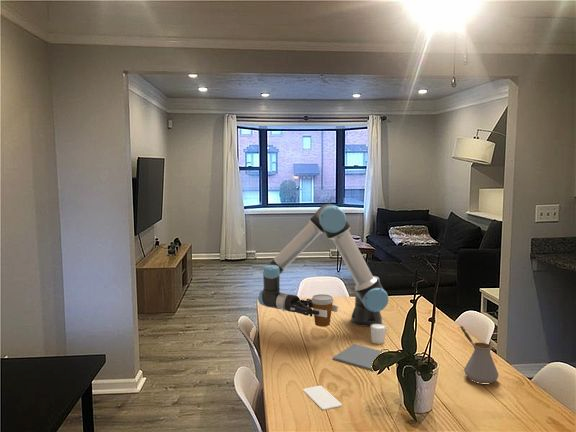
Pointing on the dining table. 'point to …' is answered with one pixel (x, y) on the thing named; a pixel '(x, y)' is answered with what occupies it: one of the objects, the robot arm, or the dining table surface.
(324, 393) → the smartphone
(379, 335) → the white candle
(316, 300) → the disposable coffee cup
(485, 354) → the coffee pot
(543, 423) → the dining table surface
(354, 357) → the grey rubber mat
